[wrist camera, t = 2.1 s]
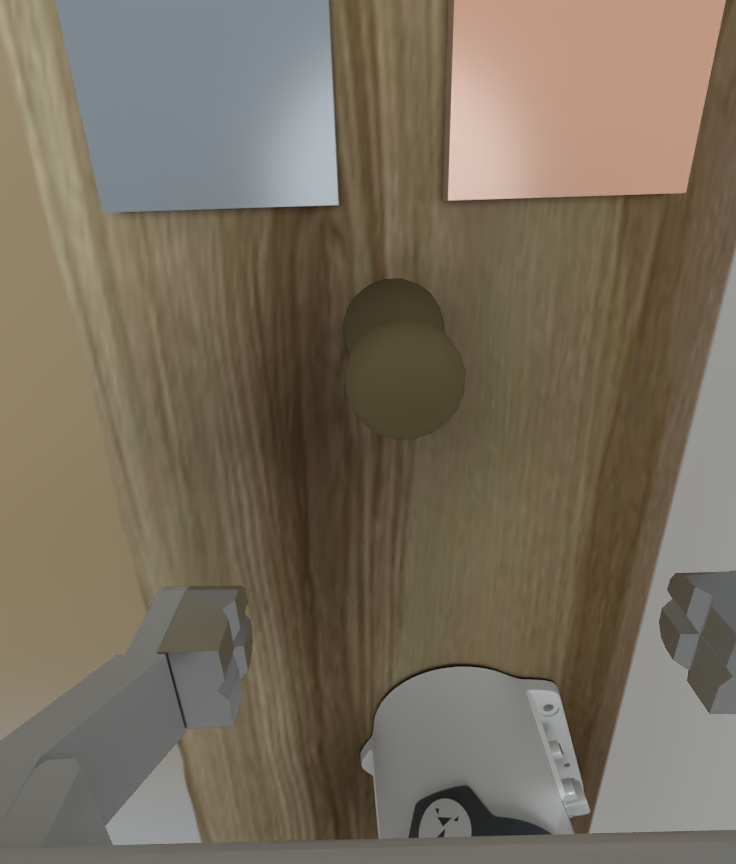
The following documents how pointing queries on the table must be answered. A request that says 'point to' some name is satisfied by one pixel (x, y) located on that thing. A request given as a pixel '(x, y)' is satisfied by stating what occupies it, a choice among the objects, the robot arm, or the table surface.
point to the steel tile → (205, 101)
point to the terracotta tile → (574, 96)
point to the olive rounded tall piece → (400, 361)
